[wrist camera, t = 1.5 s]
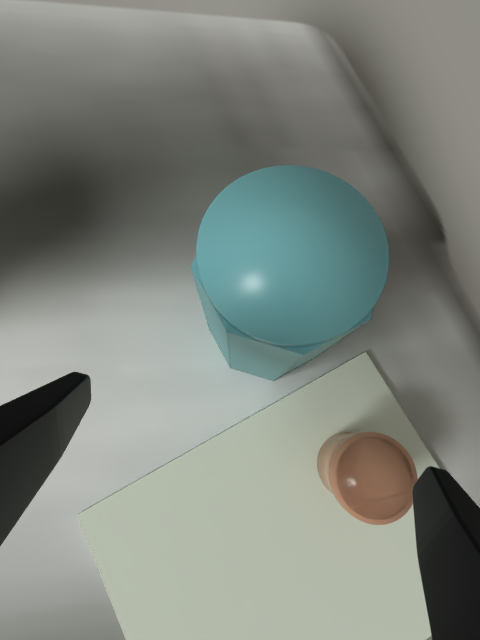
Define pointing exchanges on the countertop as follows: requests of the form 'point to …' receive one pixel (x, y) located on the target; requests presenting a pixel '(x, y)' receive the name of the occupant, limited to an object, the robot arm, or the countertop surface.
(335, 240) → the teal rounded cylinder
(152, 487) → the sage mat
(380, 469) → the terracotta pot
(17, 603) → the countertop surface
